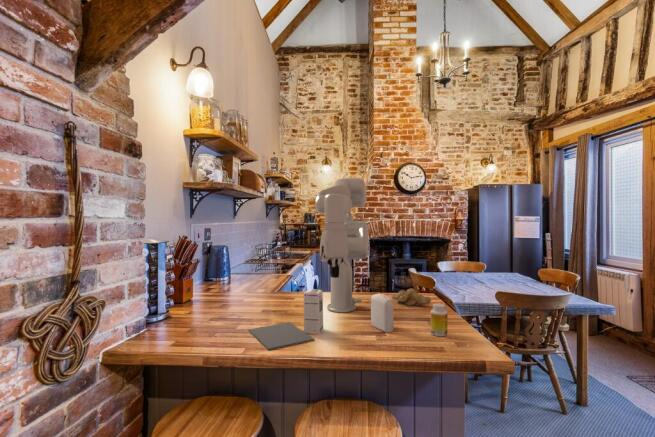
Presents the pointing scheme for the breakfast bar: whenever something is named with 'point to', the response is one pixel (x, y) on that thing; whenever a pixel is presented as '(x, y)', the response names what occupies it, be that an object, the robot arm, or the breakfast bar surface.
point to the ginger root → (411, 298)
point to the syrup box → (313, 311)
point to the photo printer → (382, 312)
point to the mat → (280, 335)
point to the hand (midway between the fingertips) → (334, 277)
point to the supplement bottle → (439, 320)
